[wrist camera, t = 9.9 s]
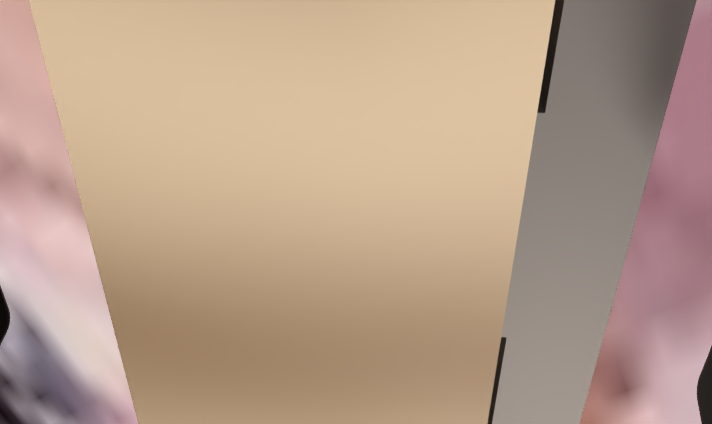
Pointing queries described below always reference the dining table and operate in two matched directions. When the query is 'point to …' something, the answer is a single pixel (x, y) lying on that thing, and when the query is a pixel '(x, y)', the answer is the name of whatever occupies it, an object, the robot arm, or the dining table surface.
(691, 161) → the dining table surface
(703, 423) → the robot arm
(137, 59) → the beech clip
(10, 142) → the dining table surface
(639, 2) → the grey piece
